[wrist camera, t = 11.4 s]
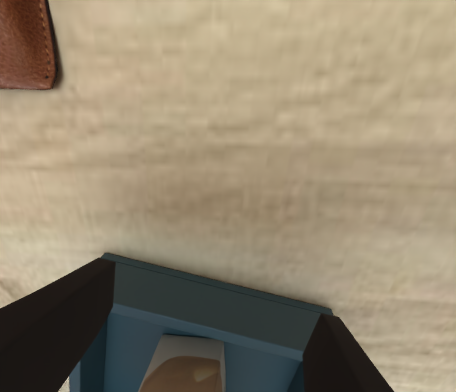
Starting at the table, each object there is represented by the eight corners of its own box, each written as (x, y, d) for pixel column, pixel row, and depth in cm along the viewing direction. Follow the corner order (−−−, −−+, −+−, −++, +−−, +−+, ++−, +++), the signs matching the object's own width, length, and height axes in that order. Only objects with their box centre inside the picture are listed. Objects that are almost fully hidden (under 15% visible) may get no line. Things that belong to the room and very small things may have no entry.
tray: (331, 308, 17) (349, 363, 13) (269, 442, 22) (270, 505, 19) (105, 252, 17) (67, 291, 14) (98, 397, 22) (69, 450, 19)
